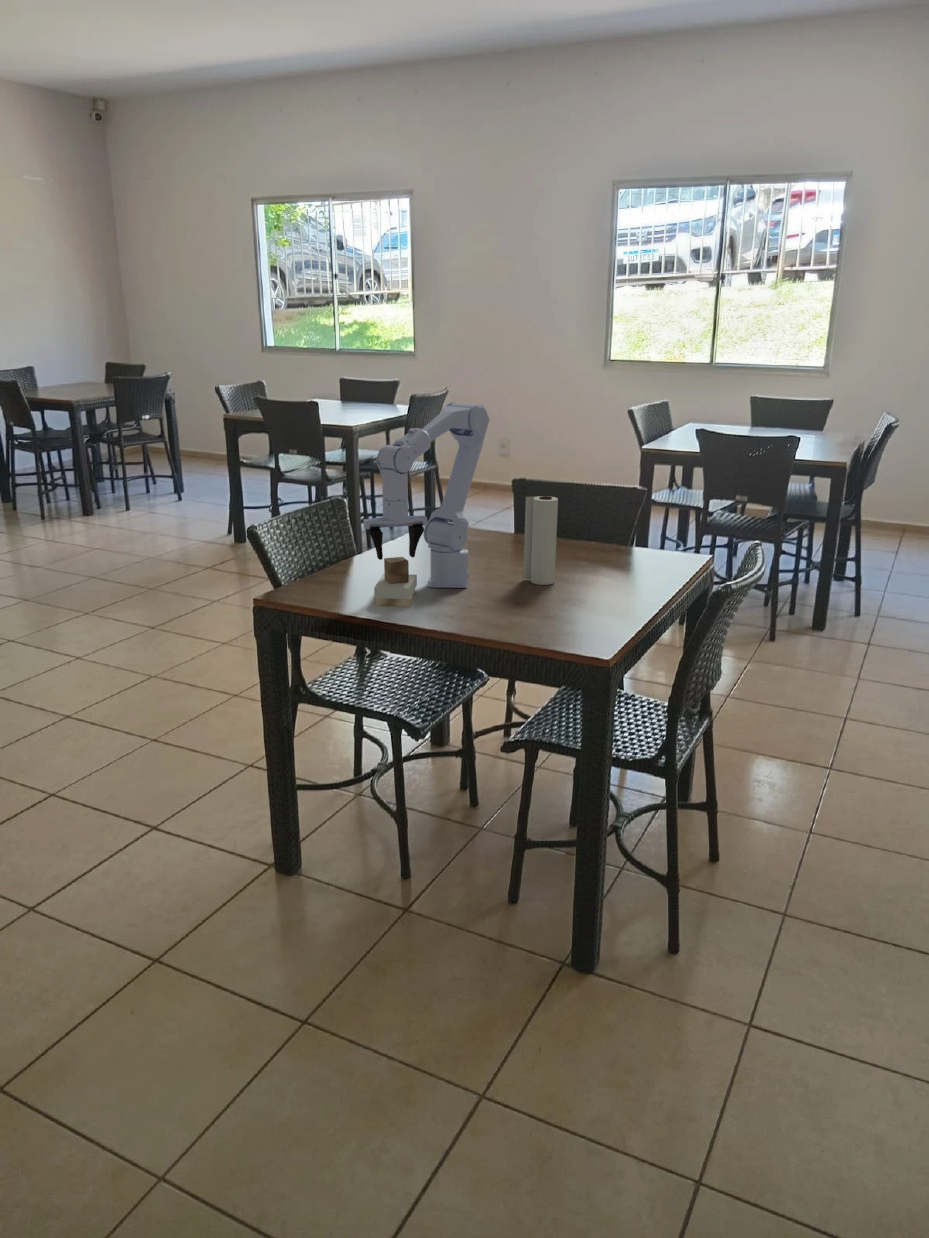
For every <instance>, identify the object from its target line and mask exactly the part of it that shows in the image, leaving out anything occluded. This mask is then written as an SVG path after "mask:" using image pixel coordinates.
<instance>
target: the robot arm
mask: <svg viewBox="0 0 929 1238" xmlns="http://www.w3.org/2000/svg"><path fill="white" fill-rule="evenodd" d="M440 411H441V412H440V413H439V414H438V415H437V416H435V417H434V418H433V419H432V420H431V421H430V422H429V423H427V424H426V425H425V426H424V427H423V428H420V427H415V428H413V427H411V428H410V429H408V433H406V434H405V435H403V436H402V437H401V438H398V439H396V440H395V441H394V442H393V444H386V445H385V444H384V446H382V447H381V448H380V449H379V451H378V452H377V457H376V458H375V462H376V466H377V468H378V469H379V473H380V474H379V475H380V477H381V480H382V481H381V482H382V484H381V485H382V487H381V488H382V516H380V517H373V518H365V519H363V529H365V530H367V531H368V534H369V535H370V537H371V539H372V542H373V545H374V547H375V551H376V557H377V559H378V560H380V561H381V560H383V558H384V557H383V534H384V533H383V531H382V528H395V527H407V528H408V537H409V539H408V540H409V542H408V543H409V545H408V546H409V547H408V554H409V557H411V558H415V556H416V551H417V547H418V544H419V541H420V539H421V537H422V536H423V539H424V542H426V544H428V548H429V549H430V576H429V580H428V583H427V584H428V588H441V589H442V588H446V589H447V588H451V589H452V588H453V589H456V588H458V589H465V588H468V579H470V576H469V575H470V571H469V569H468V561H469V560H468V558H469V557H468V556H469V555H468V554H469V552H468V551H469V550H468V549H467V548H466V549H464V548H463V547H464V546H465V545H466V543H467V539H468V528H469V524H470V523H469V521H468V519H467V518H466V517H465V515H464V509H465V505H466V503H467V499H468V495H469V492H470V489H471V486H472V482H473V479H474V475H475V472H476V469H477V465H478V463H479V462H478V461H479V460H480V457H481V456H480V455H481V452H482V448H483V445H484V440H485V436H486V434H487V431H488V430H487V429H488V427H489V423H490V418H489V414H488V411H487V409H486V407H485V406H484V405H483V404H472V403H471V404H470V403H469V404H468V403H459V402H454V401H452V402H451V401H450V402H449V403H447V404H446V405H445V406H443V407H441V410H440ZM447 432H449V433H450V434H451V436H452V438H453V439H455V440H456V441H457V443H458V449H457V452H456V455H455V456H456V457H455V460H454V463H453V466H452V469H451V472H450V476H449V479H448V482H447V485H446V489H445V492H444V495H443V500H442V502H441V506H440V507H439V508H437V509H435V510H434V511H432V512H431V514H430V517H429V519H428V517H427V516H426V515H409V487H408V486H409V485H408V484H409V482H408V481H409V478H408V472H410V471H411V470H412V467H413V464H414V462H416V460H417V459H419V457H421V456H423V454H425V453H426V452H427V451H429V450H430V448H431V445H432V441H434V440H436V439H438V438H439V437H440V436H442V435H443V434H445V433H447Z"/></svg>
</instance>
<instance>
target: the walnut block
mask: <svg viewBox="0 0 929 1238" xmlns="http://www.w3.org/2000/svg"><path fill="white" fill-rule="evenodd" d="M383 558H384V557H383ZM383 561H384V562H383V563H384V564H383V565H384V570H383V571H384V574H385V580H386V581H387V582H389V583H390V584H394V583H404V582H409V573H410V572H409V560H408V559H407V558H405V557H403V556H395V557H385V558H384V559H383Z"/></svg>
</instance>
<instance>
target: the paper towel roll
mask: <svg viewBox="0 0 929 1238" xmlns="http://www.w3.org/2000/svg"><path fill="white" fill-rule="evenodd" d="M558 498H559V497H556V496H546V495H545V496H541V495H539V496H538V495H537V496H525V507H524V508H525V513H524V516H525V517H524V542H523V543H524V545H523V546H524V547H523V548H524V549H523V550H524V551H523V573H522V574H523V576H522V577H523V580H530V582H531V583H532V584H533V585H540V586H546V585H547V586H548V585H552V584H553V585H554V583H555V580H556V579H555V578H556V559H557V558H556V556H557V555H556V554H557V535H558V534H557V531H558V530H557V529H558V511H559V510H558V509H559V499H558Z"/></svg>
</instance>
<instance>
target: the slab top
mask: <svg viewBox="0 0 929 1238" xmlns="http://www.w3.org/2000/svg"><path fill="white" fill-rule="evenodd" d="M417 586H418V574H409V582H404V583H394V584H390V583H389V582H387V581H386V580H385V573H382V575H381V577H380V578H379V580H378V581H377V583H376V584H375V585H374V586H373V588H374V589H373V591H374V592H373V594H374V597H373V598H374V599H376V598H389V599H410V597H411V595H412V593H413V591H414V589H415V590H416V587H417Z"/></svg>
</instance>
